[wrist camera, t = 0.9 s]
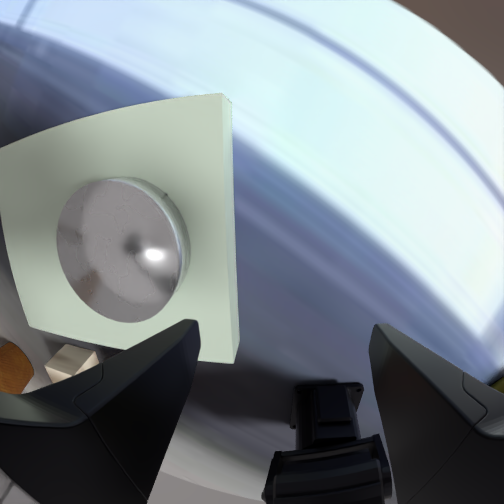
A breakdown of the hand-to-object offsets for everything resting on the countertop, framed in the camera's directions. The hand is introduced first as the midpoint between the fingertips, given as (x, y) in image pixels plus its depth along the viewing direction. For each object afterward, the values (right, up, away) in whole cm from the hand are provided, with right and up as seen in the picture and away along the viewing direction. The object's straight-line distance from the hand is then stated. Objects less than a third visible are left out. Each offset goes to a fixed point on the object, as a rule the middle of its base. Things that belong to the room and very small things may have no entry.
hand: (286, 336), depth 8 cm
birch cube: (-20, -10, +19) cm, 29 cm away
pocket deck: (-13, +4, +13) cm, 19 cm away
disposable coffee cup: (-36, -14, +22) cm, 44 cm away
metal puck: (-9, +3, +10) cm, 14 cm away
